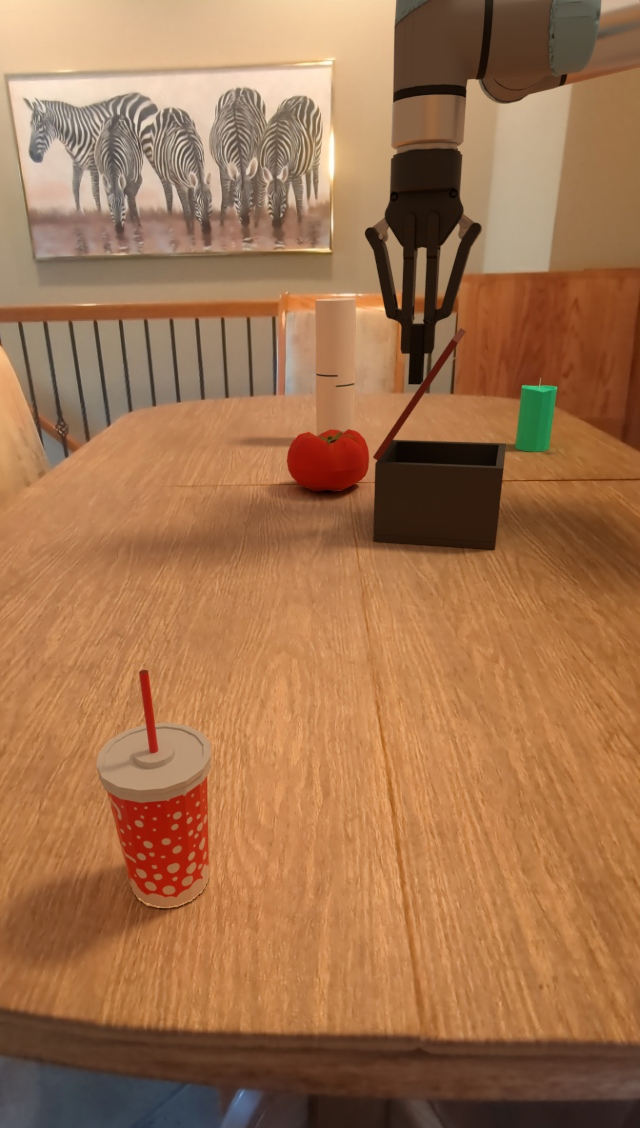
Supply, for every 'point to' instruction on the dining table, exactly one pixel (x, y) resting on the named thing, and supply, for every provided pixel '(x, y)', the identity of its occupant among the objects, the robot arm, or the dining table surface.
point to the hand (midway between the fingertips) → (415, 382)
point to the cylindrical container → (335, 363)
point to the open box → (439, 493)
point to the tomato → (328, 460)
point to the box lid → (419, 393)
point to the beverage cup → (160, 805)
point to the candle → (535, 418)
